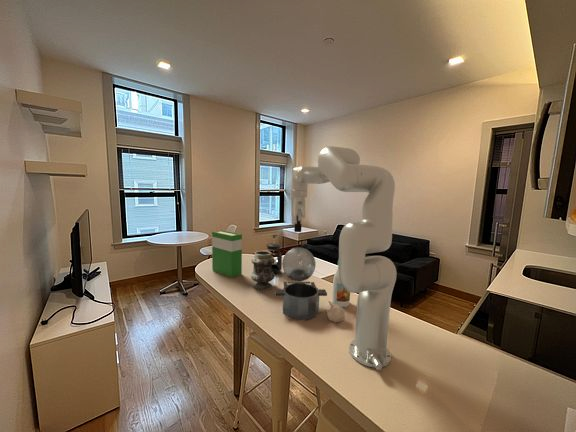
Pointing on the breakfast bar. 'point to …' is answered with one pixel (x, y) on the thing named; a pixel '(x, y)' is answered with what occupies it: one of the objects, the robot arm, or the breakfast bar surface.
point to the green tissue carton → (227, 253)
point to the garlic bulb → (335, 313)
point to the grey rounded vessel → (262, 270)
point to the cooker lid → (298, 264)
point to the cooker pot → (300, 300)
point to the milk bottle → (339, 292)
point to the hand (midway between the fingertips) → (297, 231)
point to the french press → (277, 263)
